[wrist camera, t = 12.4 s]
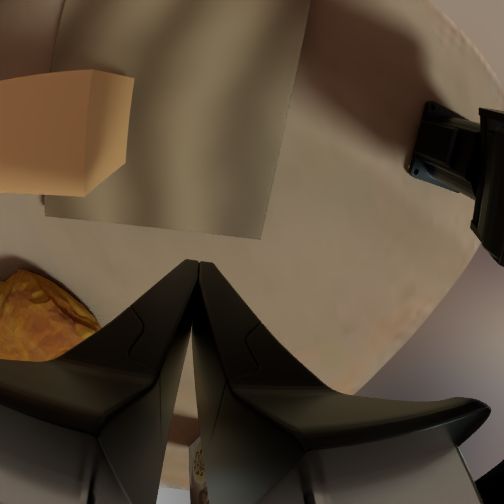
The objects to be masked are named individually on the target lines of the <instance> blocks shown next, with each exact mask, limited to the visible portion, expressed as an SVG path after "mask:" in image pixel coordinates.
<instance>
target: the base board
mask: <svg viewBox="0 0 504 504" xmlns="http://www.w3.org/2000/svg"><path fill="white" fill-rule="evenodd" d="M310 5H311V0H66V1H65V5H64V8H63V12H62V16H61V20H60V24H59V28H58V32H57V37H56V41H55V46H54V52H53V57H52V63H51V69H50V73H53V72H63V71H75V70H91V69H93V70H98V71H103V72H108V73H113V74H118V75H122V76H126V77H131V78H135V79H134V86H133V93H132V100H131V108H130V117H129V126H128V137H127V149H126V163H125V164H124V165H122V166H121V167H120V168H119V169H117V170H116V171H115V172H114V173H112V174H111V175H110V176H109V177H107V178H106V179H105V180H104V181H103V182H101V183H100V184H99V185H98V186H97V187H95V188H94V189H93V190H92V191H91V192H90V193H88V194H87V195H86V196H85V197H76V196H60V195H44V204H45V216H49V217H59V218H69V219H79V220H89V221H99V222H109V223H118V224H128V225H137V226H146V227H155V228H164V229H173V230H182V231H191V232H200V233H208V234H217V235H226V236H234V237H243V238H251V239H259V240H260V239H261V235H262V230H263V226H264V221H265V217H266V212H267V207H268V203H269V198H270V194H271V189H272V184H273V180H274V175H275V171H276V166H277V161H278V157H279V152H280V147H281V143H282V138H283V133H284V129H285V124H286V119H287V115H288V110H289V105H290V101H291V96H292V91H293V86H294V82H295V77H296V72H297V67H298V63H299V58H300V53H301V48H302V44H303V39H304V34H305V29H306V25H307V20H308V15H309V10H310Z"/></svg>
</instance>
